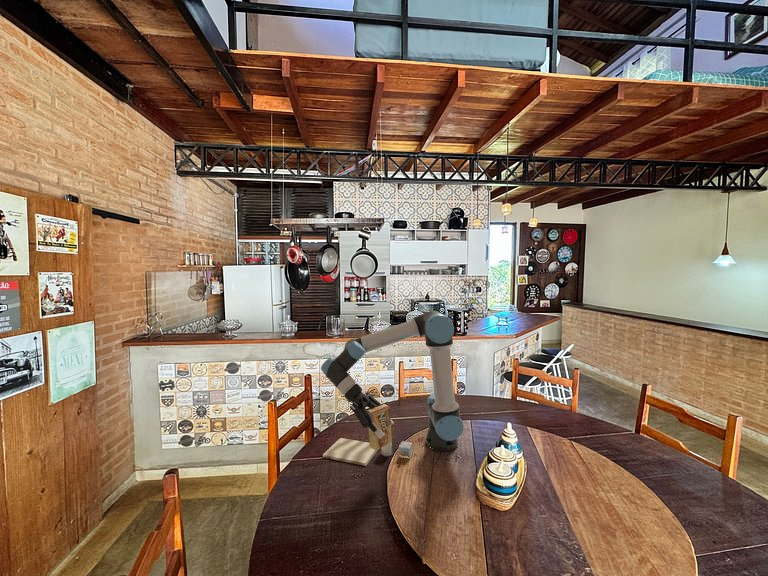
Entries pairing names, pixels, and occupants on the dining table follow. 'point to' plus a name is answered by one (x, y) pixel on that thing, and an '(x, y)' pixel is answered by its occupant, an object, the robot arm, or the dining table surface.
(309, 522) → the dining table surface
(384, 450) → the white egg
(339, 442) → the birch board
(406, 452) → the metal block
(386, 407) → the candy box
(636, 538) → the dining table surface
